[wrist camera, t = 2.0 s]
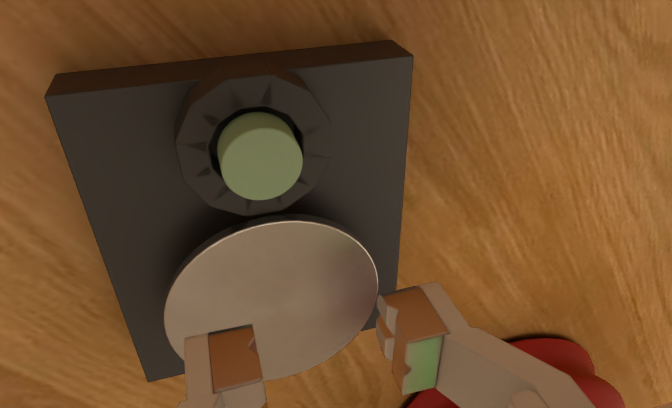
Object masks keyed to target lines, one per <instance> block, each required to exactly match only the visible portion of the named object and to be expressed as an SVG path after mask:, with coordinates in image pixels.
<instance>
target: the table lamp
mask: <svg viewBox="0 0 672 408" xmlns="http://www.w3.org/2000/svg"><path fill="white" fill-rule="evenodd" d="M508 344H510V345H512V346H514V347H516V348H518V349H520V350H522V351H524V352H526V353H528V354H529V355H531V356H533V357H535V358H537V359H539V360H541V361H543V362H545V363H547V364H549V365H551V366H552V367H554V368H556V369H558V370H560V371H562V372H564V373H566V374H568V375H570V377H571V378H572V379H573V380H574V381H575V383H576V384H577V385H578V386H579V388H580V389H581V390H582V391H583V393H584V394H585V395H586V396H587V397H588V399H589V400H590V401H591V402H592V404H593V405H594V406H595V407H596V408H625V405H624V402H623V399H622V397H621V395H620V393H619V392H618V391H617V390H616V389H615V388H614V387H613V386H611V385H610V384H609V383H608V382H606V381H605V380H603V379H601V378H600V377H598V376H596V375H595V371H594V366H593V363H592V361H591V359H590V357H589V355H588V353H587V351H585V350H584V349H583V348H582V347H581V346H580V345H579V344H576V343H573V342H570V341H567V340H563V339H551V338H535V339H523V340H518V341H514V342H509V343H508ZM406 408H460V407H459V406H458V405H456V404H455V403H454V402H452V401H451V400H450V399H449V398H447V397H446V396H445V395H443V394H442V393H441V392H439V391H438V390H437V389H436V387H434V388H430V389H426V390H422V391H420V392H419V393H418V394H417V396H416V397H415V398H414V399H413V400H412V401H411V402H410V403H409V405H408V406H407V407H406Z"/></svg>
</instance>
